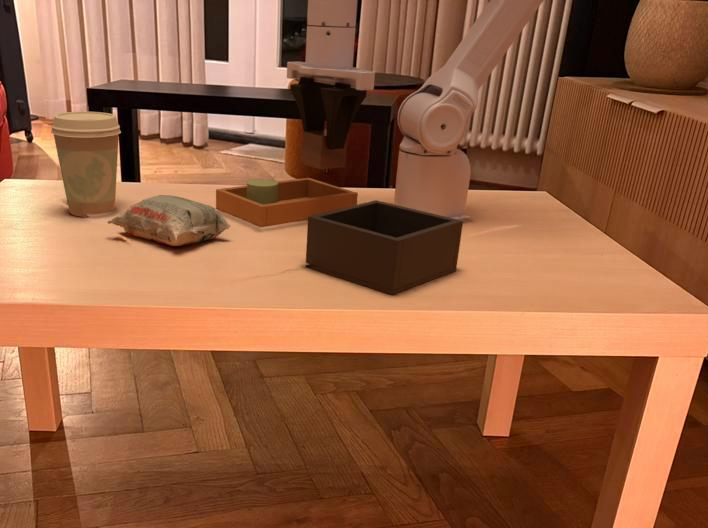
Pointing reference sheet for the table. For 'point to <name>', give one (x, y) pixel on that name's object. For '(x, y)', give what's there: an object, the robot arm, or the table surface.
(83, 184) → the coffee cup
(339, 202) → the brown wooden tray
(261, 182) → the green cylinder
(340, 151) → the walnut block
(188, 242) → the packaged food
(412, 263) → the black basket
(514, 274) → the table surface
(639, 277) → the table surface
